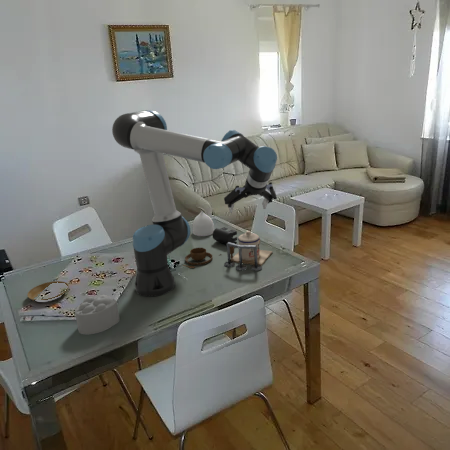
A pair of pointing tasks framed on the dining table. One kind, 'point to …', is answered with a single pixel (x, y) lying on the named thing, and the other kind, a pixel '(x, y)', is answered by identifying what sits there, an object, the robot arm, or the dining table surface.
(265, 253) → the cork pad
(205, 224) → the teardrop
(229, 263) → the bent rail
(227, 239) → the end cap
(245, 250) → the teacup with lid
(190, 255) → the place setting
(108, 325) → the lumpy-topped squat cylinder
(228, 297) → the dining table surface
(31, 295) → the plant saucer
